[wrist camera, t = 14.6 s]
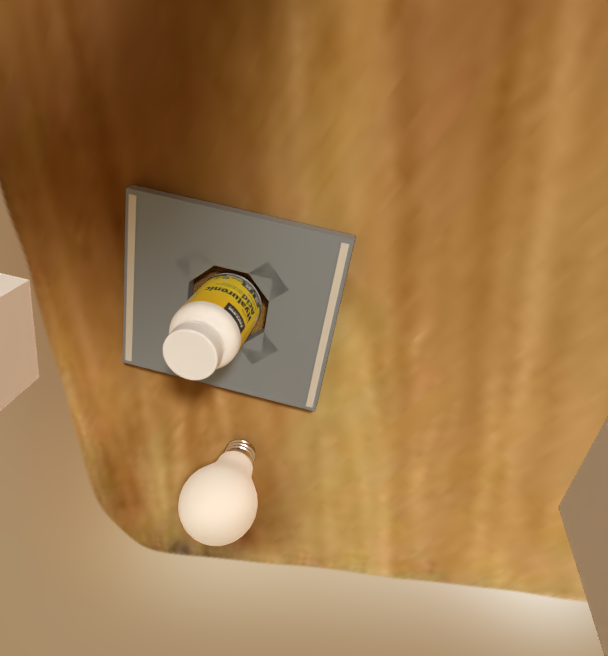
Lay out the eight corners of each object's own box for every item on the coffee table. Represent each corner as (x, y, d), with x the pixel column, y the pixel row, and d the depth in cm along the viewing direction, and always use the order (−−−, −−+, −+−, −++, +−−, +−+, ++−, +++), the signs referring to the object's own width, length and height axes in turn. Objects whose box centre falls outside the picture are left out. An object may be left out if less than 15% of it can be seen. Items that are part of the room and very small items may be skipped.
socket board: (132, 184, 42) (125, 188, 41) (355, 235, 41) (354, 240, 40) (128, 355, 50) (122, 362, 49) (317, 403, 48) (314, 412, 47)
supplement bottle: (275, 297, 44) (242, 354, 36) (241, 340, 47) (202, 404, 38) (222, 257, 44) (175, 305, 35) (190, 303, 46) (138, 359, 38)
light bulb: (245, 406, 50) (205, 489, 40) (291, 455, 52) (262, 546, 42) (197, 437, 53) (148, 522, 43) (242, 482, 54) (204, 574, 45)
